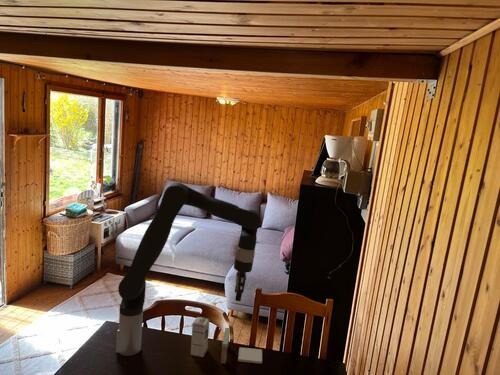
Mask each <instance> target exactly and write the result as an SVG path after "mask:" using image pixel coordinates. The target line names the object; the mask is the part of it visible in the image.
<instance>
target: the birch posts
mask: <svg viewBox="0 0 500 375" xmlns="http://www.w3.org/2000/svg"><path fill="white" fill-rule="evenodd" d="M230 332H231V331H230ZM230 332H229V334H230ZM229 341H230V337H229V338H228V344H227V348H226V347H222V346H221V354H220V355H221V356H220V364H226V362H227V353H228V349H229V344H230V342H229Z"/></svg>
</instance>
